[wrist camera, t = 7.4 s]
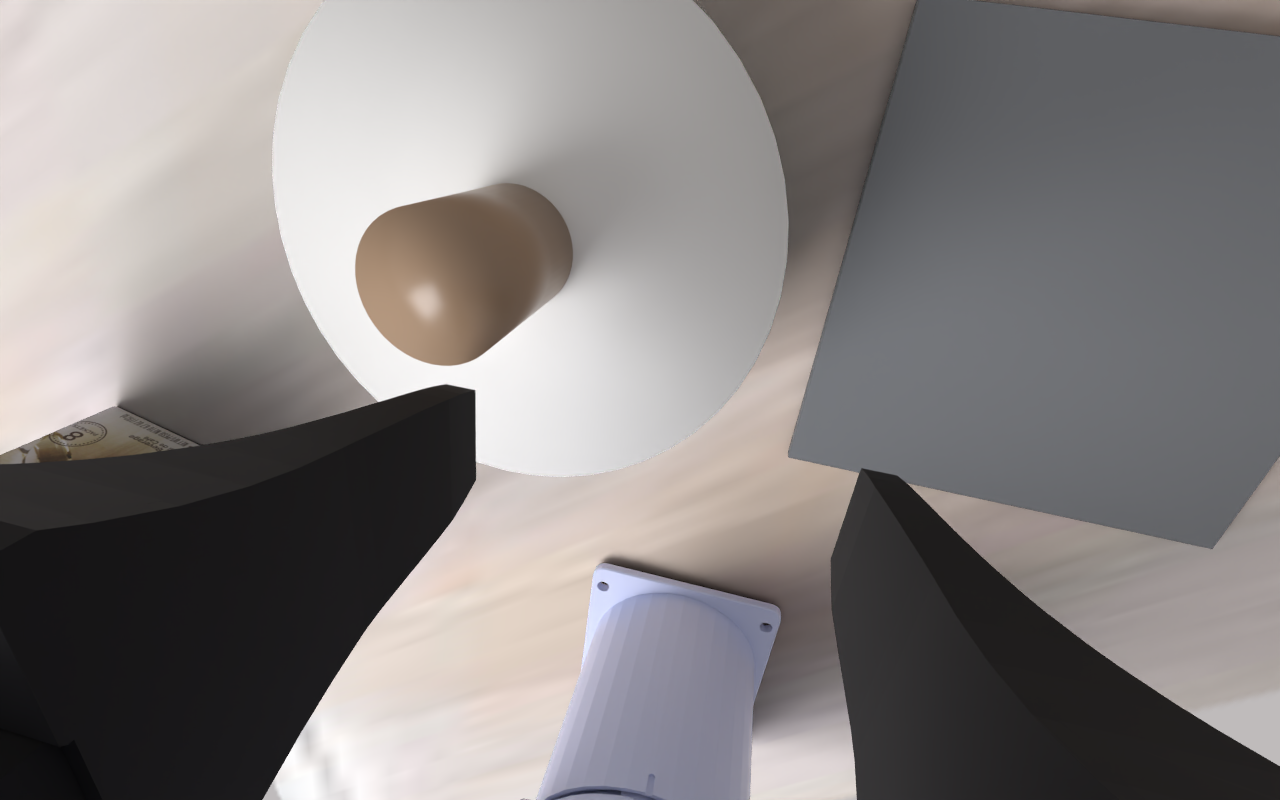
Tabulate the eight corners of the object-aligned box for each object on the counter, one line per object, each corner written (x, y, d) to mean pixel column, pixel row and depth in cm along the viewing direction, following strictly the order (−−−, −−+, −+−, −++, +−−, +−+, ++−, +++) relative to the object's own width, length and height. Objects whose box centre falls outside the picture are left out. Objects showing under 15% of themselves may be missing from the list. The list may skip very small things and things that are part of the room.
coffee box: (289, 479, 28) (-236, 869, 13) (278, 573, 30) (-160, 975, 16) (111, 398, 28) (-601, 698, 13) (118, 500, 31) (-458, 834, 16)
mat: (1204, 541, 20) (1212, 549, 20) (788, 451, 22) (788, 457, 21) (1538, 70, 14) (1559, 69, 13) (917, -4, 16) (921, -7, 15)
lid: (728, 505, 17) (712, 630, 13) (322, 412, 19) (191, 497, 15) (859, -38, 12) (909, -131, 7) (259, -105, 13) (12, -212, 9)
